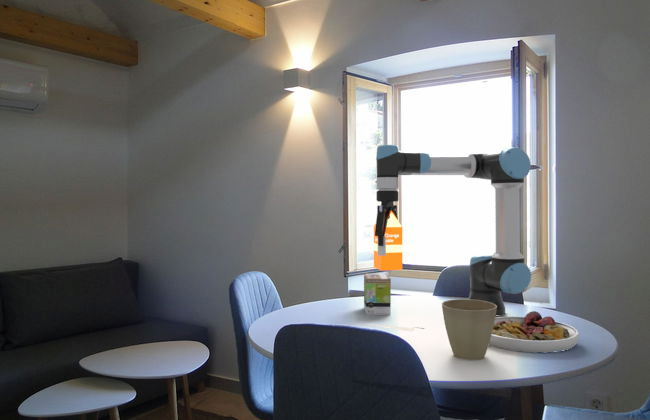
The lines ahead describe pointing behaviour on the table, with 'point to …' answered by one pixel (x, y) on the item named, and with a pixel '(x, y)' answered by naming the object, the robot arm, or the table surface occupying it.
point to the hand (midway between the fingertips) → (387, 254)
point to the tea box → (377, 294)
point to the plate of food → (532, 334)
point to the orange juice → (390, 246)
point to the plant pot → (469, 326)
